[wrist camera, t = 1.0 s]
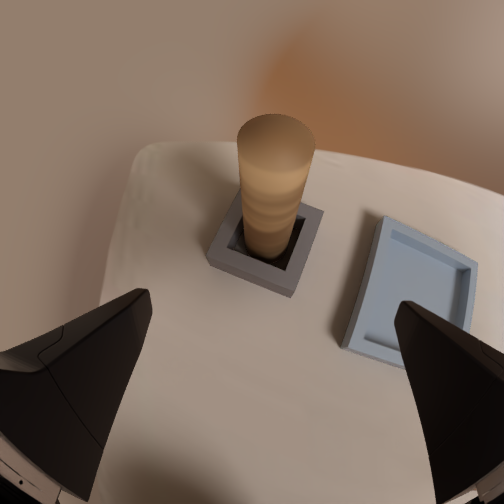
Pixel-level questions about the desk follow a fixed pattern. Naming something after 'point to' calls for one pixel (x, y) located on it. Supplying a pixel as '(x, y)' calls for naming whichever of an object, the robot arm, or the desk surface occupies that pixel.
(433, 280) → the tray
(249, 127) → the dowel
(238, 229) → the socket collar
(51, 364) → the robot arm
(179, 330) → the desk surface
